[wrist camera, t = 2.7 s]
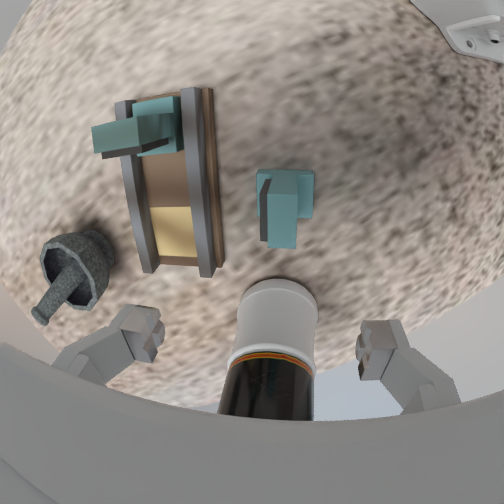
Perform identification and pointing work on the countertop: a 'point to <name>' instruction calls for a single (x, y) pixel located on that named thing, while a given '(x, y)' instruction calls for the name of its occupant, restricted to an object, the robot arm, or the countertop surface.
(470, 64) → the countertop surface
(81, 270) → the mortar and pestle
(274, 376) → the vodka
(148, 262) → the rail
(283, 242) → the teal t-block
